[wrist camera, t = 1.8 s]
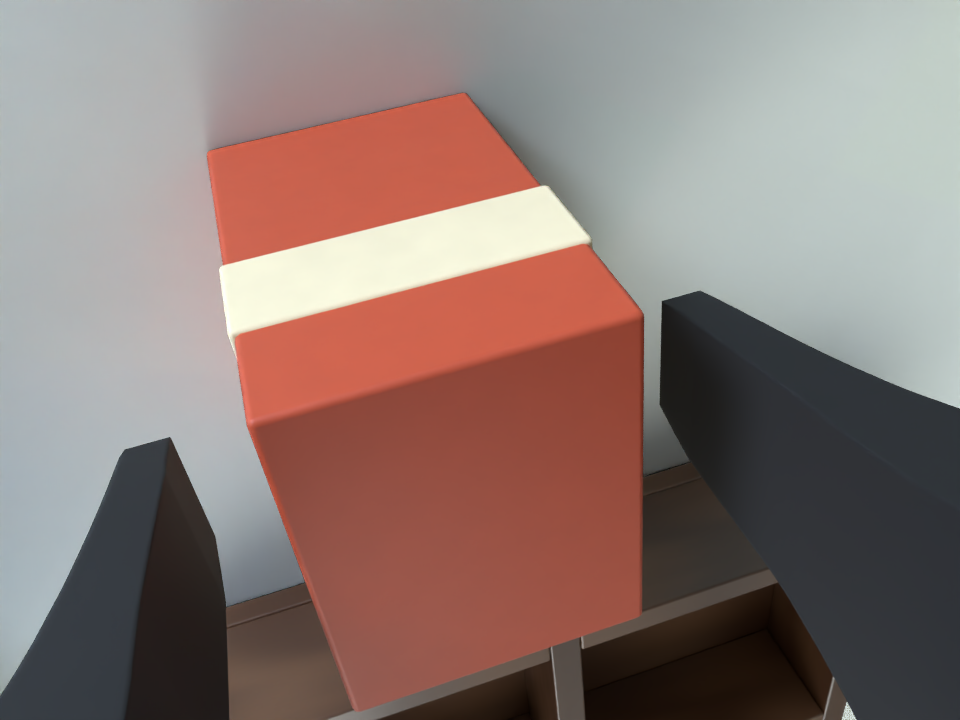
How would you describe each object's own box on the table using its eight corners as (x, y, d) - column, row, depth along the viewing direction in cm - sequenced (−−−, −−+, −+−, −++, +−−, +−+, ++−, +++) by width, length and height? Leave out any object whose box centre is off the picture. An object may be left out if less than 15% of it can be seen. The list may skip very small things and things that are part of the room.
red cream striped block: (287, 410, 18) (352, 720, 13) (200, 147, 14) (239, 422, 9) (500, 350, 19) (648, 619, 13) (469, 85, 15) (651, 307, 10)
